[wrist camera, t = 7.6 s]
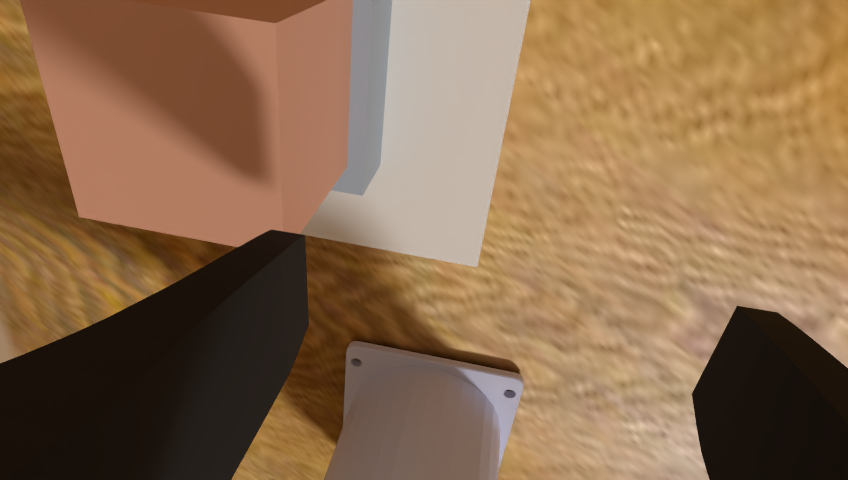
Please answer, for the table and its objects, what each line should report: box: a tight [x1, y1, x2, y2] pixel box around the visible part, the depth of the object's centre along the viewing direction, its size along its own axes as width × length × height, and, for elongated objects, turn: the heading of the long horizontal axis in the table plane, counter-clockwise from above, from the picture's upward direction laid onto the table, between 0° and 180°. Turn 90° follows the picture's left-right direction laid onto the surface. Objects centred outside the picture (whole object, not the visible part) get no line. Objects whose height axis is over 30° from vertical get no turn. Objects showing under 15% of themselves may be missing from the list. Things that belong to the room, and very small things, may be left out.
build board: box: [300, 0, 531, 267], centre depth 18 cm, size 11×12×1 cm
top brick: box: [20, 0, 353, 247], centre depth 13 cm, size 5×5×5 cm
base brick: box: [331, 0, 392, 196], centre depth 16 cm, size 6×6×2 cm
